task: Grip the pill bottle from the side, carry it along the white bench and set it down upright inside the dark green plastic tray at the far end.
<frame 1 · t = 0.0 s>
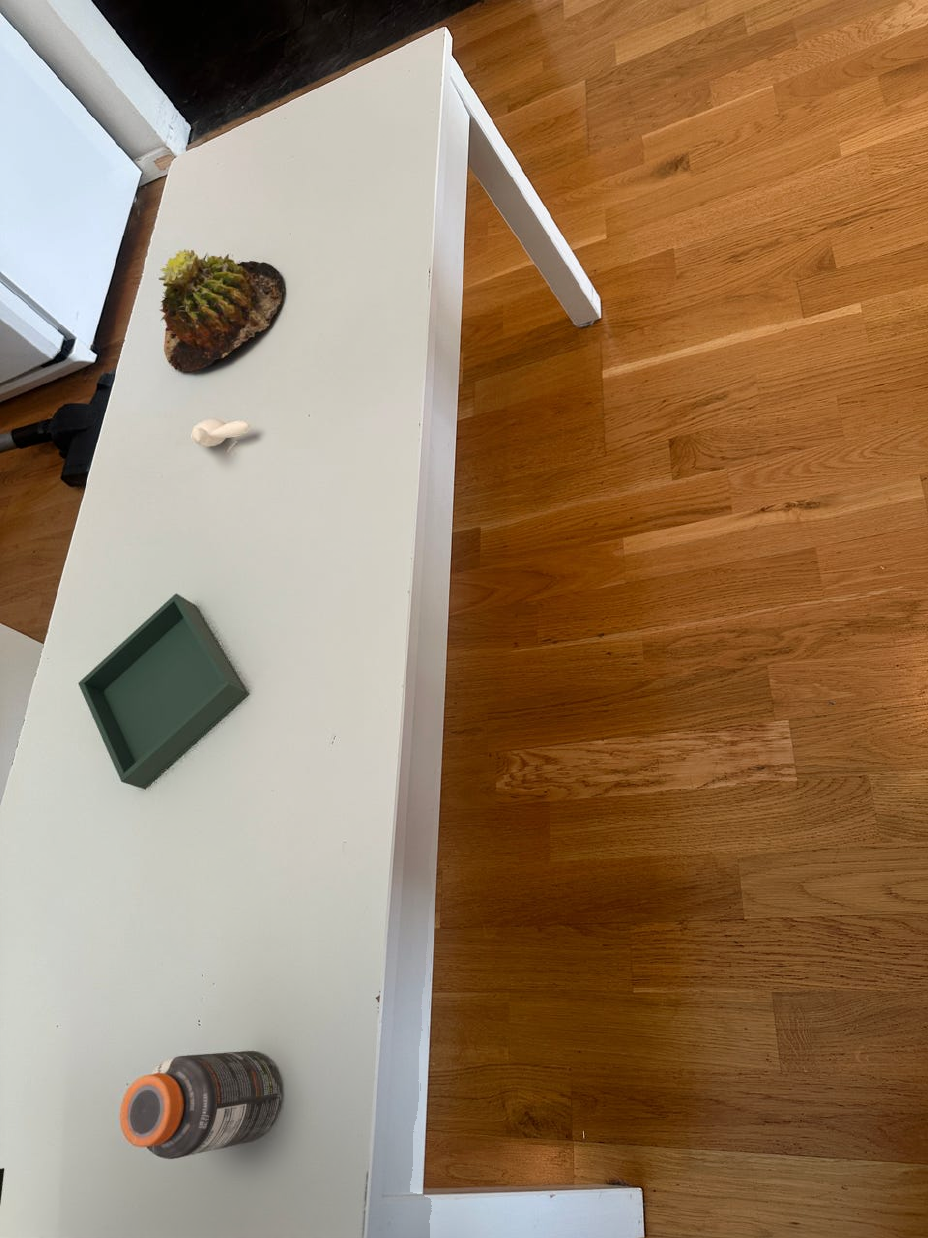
cactus: (226, 320, 102), on the table
pill bottle: (252, 1095, 63), on the table
tray: (171, 693, 82), on the table
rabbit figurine: (231, 448, 93), on the table
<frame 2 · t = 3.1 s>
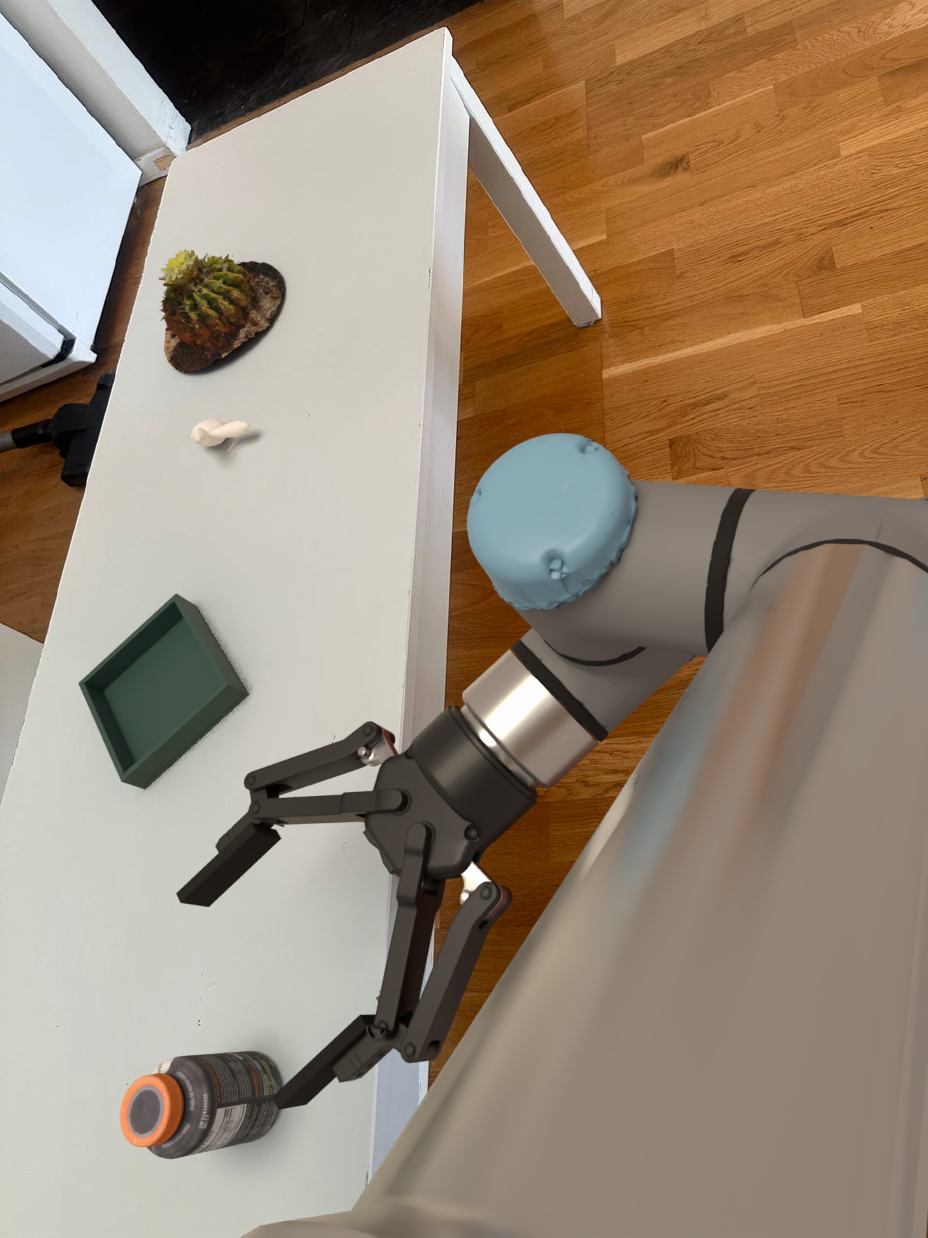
hand: (236, 993, 50), 15 cm above the table, tool horizontal, fingers open, 13 cm apart
nothing on the table moved.
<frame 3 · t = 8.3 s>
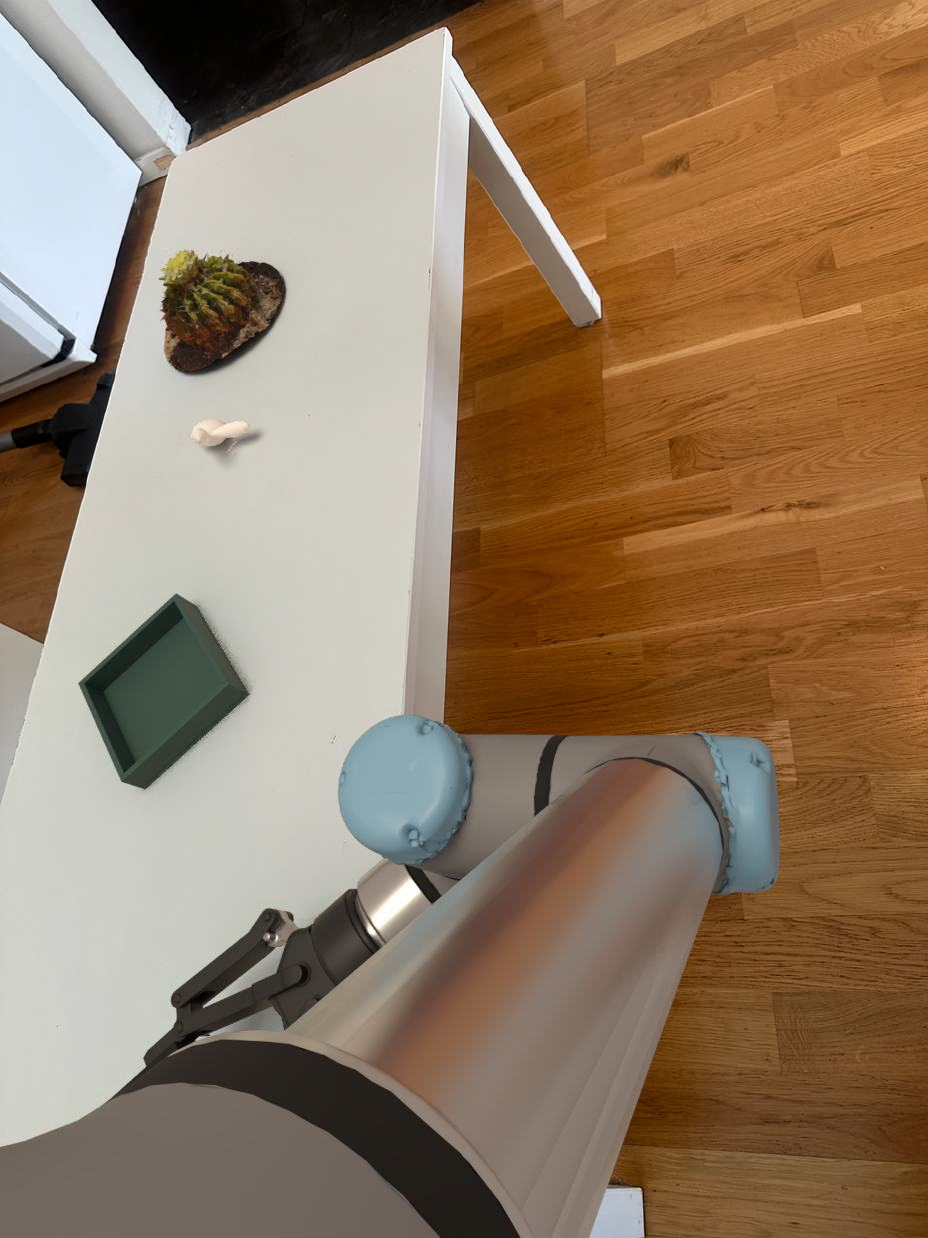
hand: (137, 1152, 57), 7 cm above the table, tool horizontal, fingers closed on pill bottle, 6 cm apart
pill bottle: (252, 1095, 63), on the table, touching gripper
everything else where it was.
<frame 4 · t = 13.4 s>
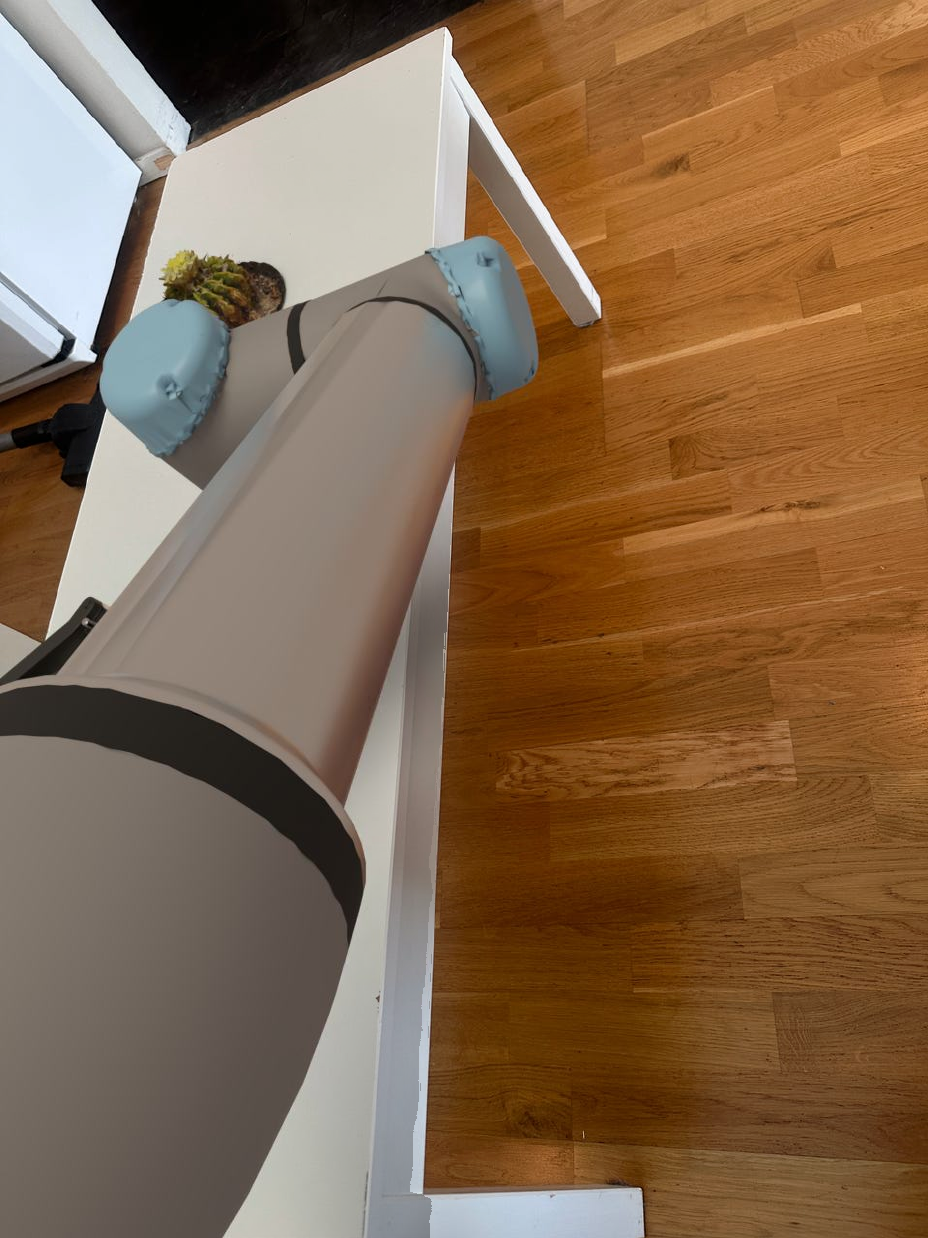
pill bottle: (83, 802, 62), point 14 cm above the table, touching gripper
everything else where it was.
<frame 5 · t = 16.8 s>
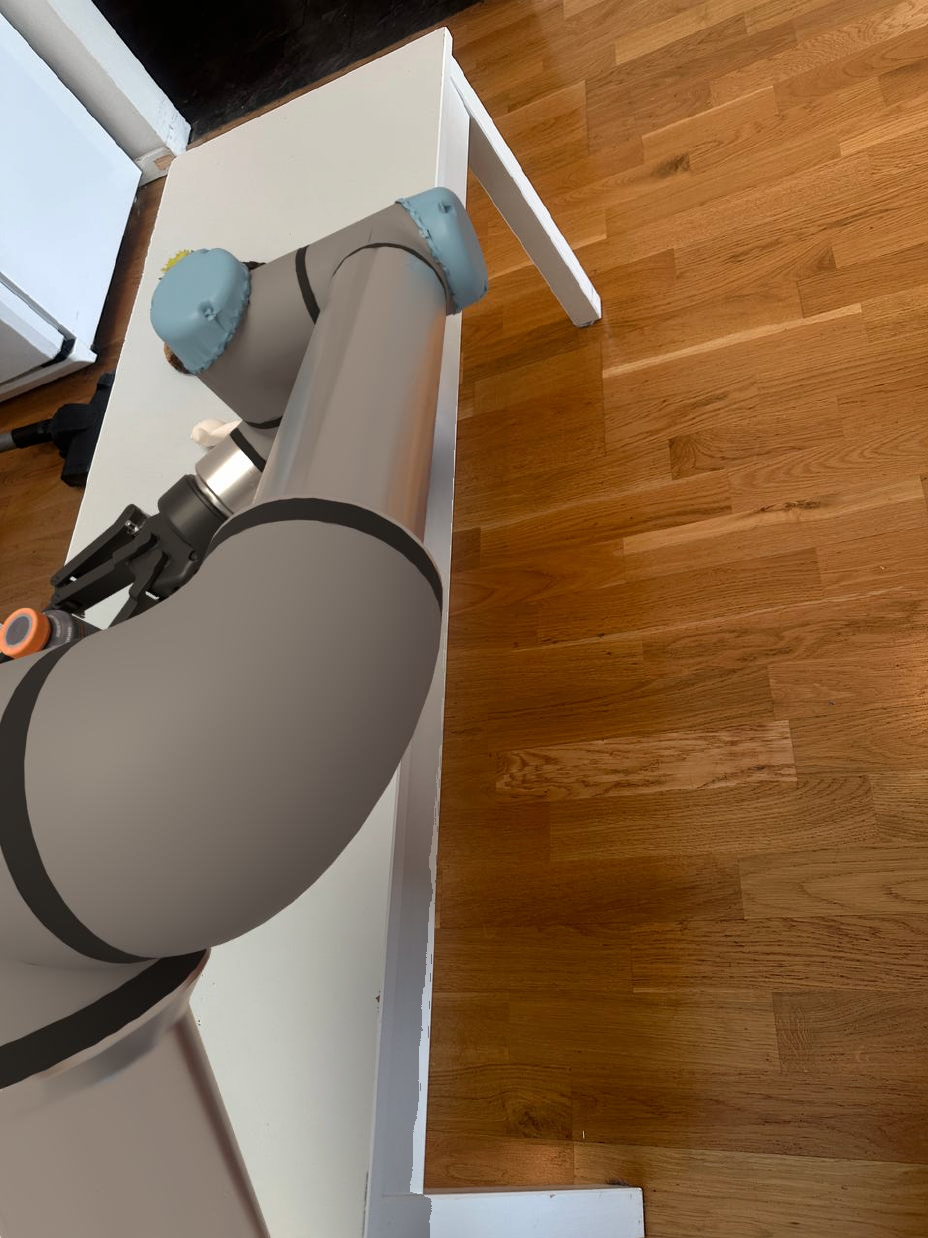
hand: (19, 693, 70), 14 cm above the table, tool horizontal, fingers closed on pill bottle, 6 cm apart
pill bottle: (123, 678, 75), point 7 cm above the table, touching gripper
everything else where it was.
when the fingers open (7 cm above the table, at t = 19.0 s): pill bottle stays where it is, resting on tray.
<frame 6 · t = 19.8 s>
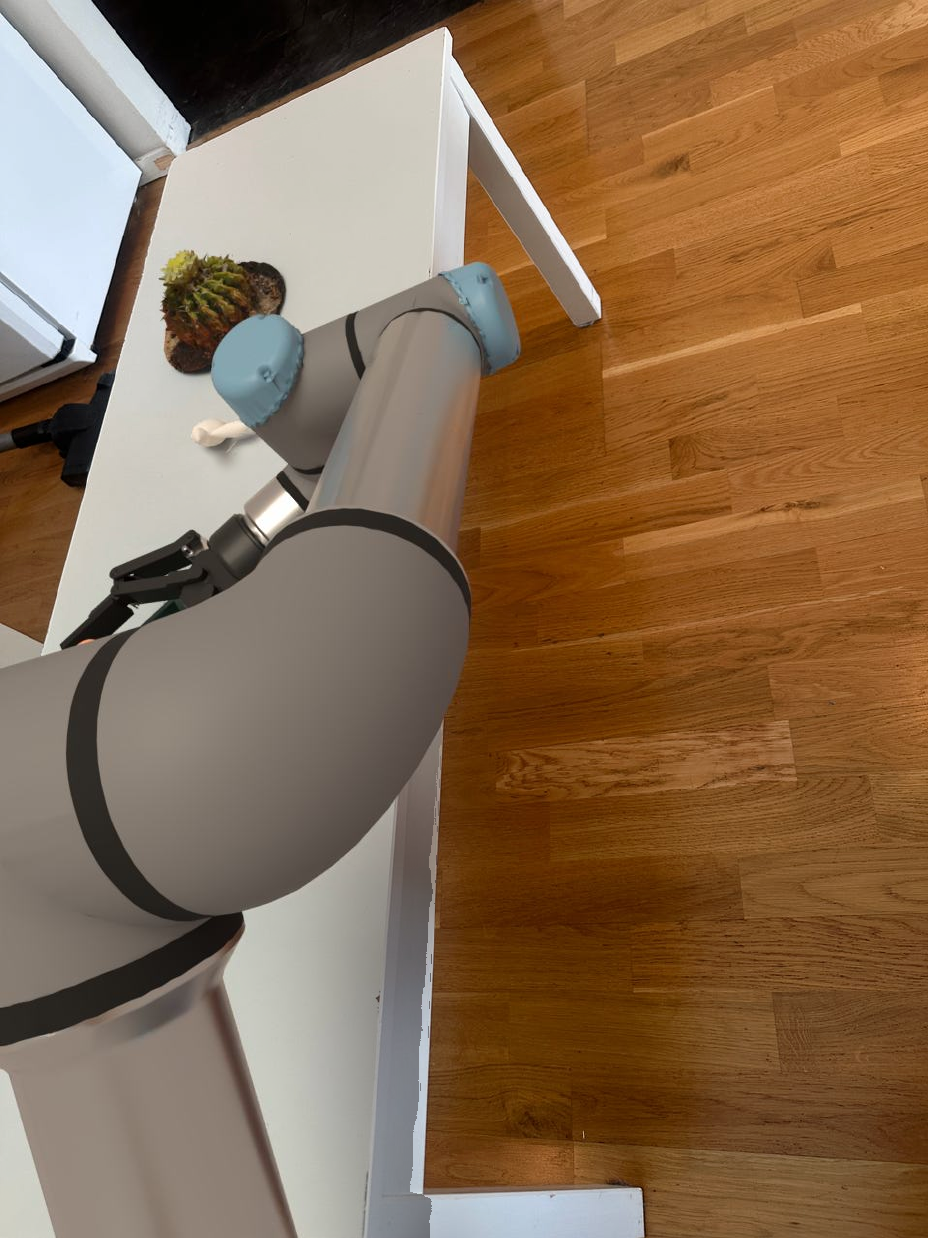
hand: (93, 703, 75), 7 cm above the table, tool horizontal, fingers open, 13 cm apart
pill bottle: (174, 701, 81), resting on tray
everything else where it was.
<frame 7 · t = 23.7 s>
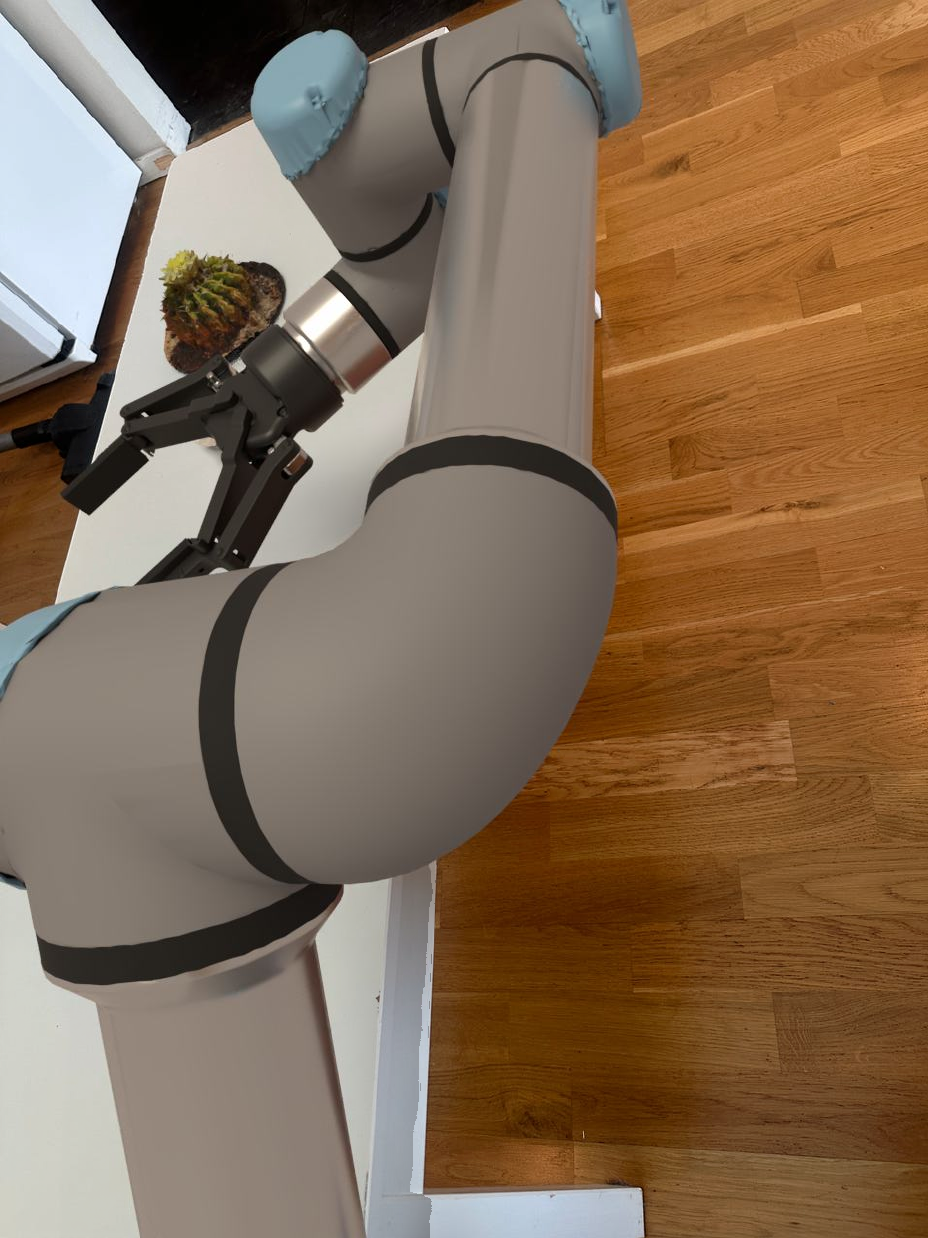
hand: (100, 556, 62), 20 cm above the table, tool horizontal, fingers open, 13 cm apart
nothing on the table moved.
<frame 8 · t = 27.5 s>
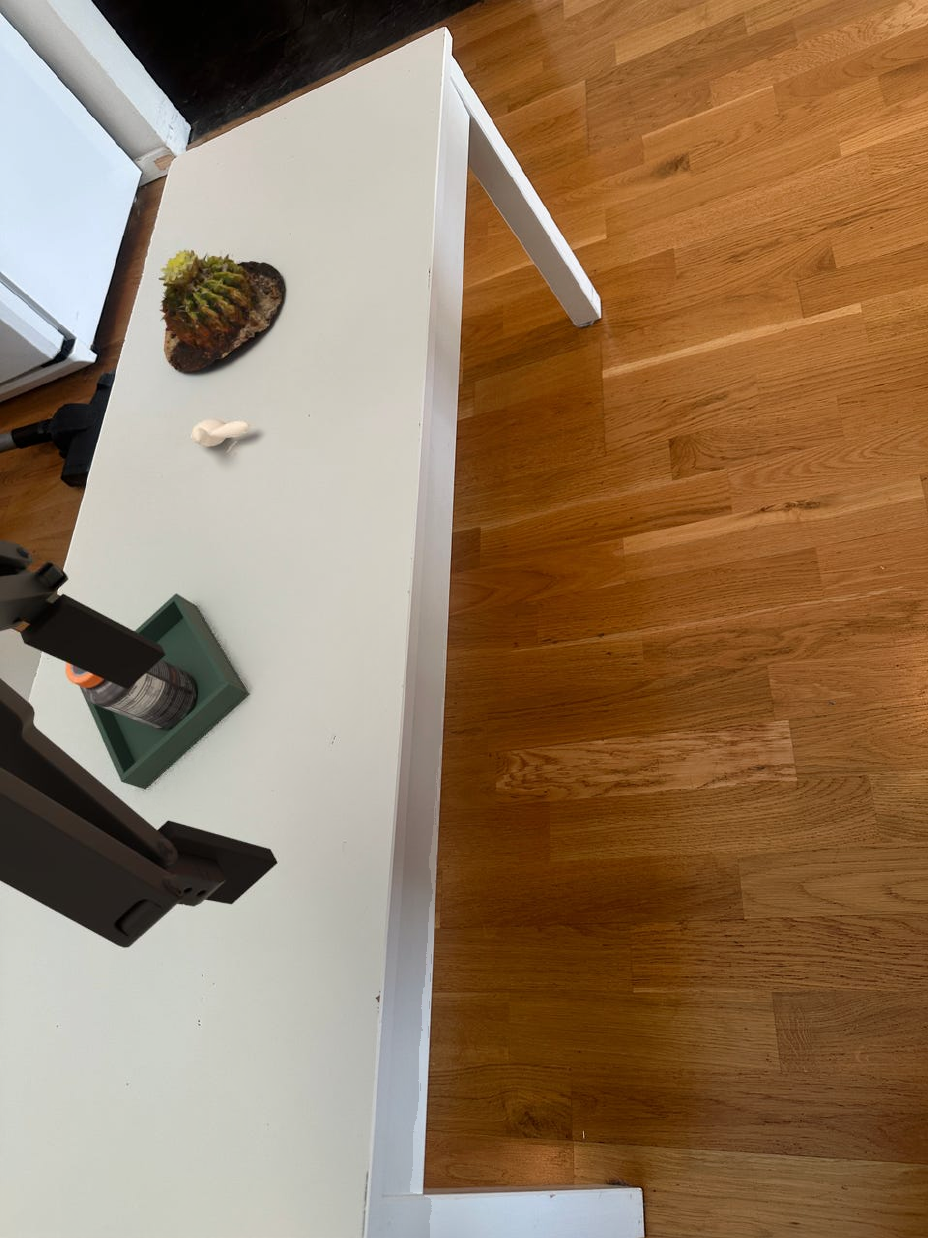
hand: (193, 762, 40), 29 cm above the table, tool pointing down, fingers open, 13 cm apart
nothing on the table moved.
at the end: pill bottle inside the target area in the tray (1.2 cm from its centre), point 0.3 cm above the tray's base; pill bottle tilted 0°; the gripper is holding nothing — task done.
